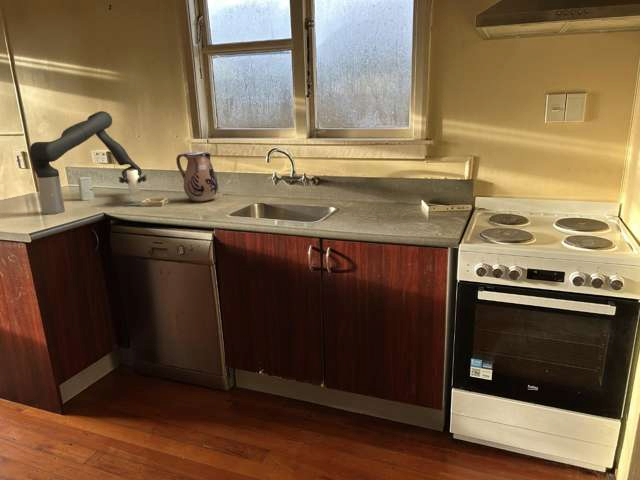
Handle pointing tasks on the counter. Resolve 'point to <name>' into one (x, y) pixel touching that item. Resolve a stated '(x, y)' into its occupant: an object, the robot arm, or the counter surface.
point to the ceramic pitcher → (198, 176)
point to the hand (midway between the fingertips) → (133, 181)
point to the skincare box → (85, 188)
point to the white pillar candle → (133, 182)
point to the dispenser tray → (154, 202)
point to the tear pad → (132, 203)
